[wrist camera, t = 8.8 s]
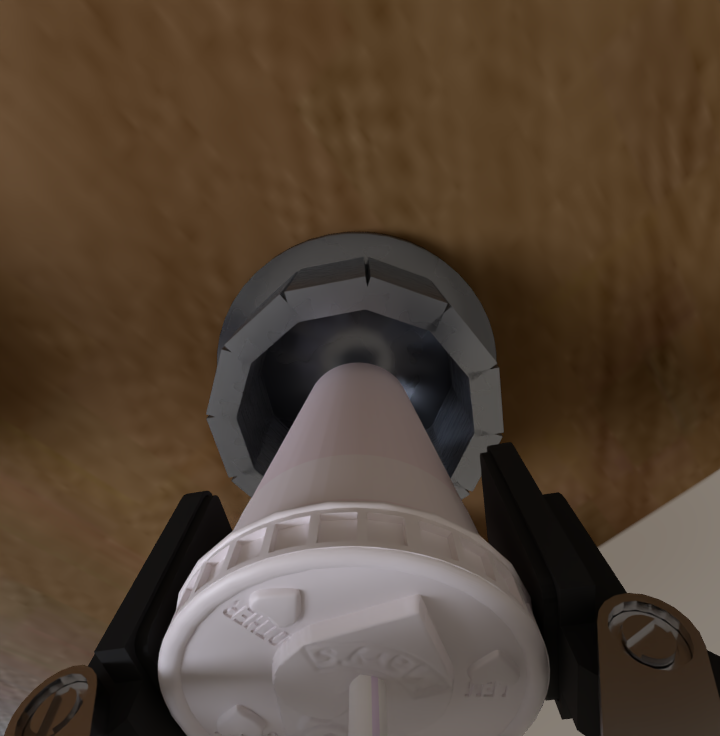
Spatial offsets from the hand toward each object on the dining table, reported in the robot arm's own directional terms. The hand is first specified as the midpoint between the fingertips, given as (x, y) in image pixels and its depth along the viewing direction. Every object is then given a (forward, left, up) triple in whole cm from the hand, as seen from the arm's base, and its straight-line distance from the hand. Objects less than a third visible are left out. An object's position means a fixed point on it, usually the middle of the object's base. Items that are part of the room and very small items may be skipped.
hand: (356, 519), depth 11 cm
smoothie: (0, 0, -6) cm, 6 cm away
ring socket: (0, 0, -9) cm, 9 cm away
